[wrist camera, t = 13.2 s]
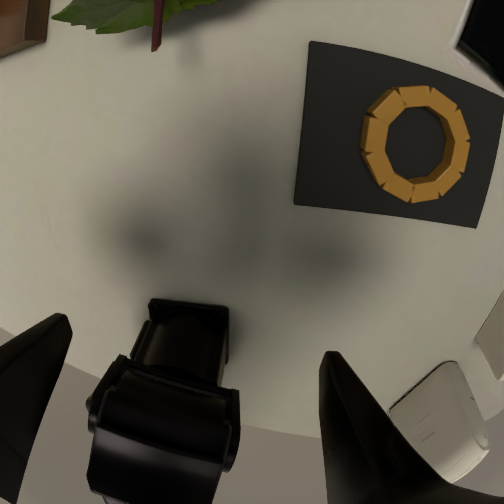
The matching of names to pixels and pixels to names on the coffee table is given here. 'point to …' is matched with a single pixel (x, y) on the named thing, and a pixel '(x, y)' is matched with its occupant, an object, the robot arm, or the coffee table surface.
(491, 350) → the white cube
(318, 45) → the mat
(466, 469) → the photo printer
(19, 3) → the peg stand
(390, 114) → the ring
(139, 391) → the robot arm
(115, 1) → the fruit
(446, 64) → the coffee table surface
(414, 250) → the coffee table surface
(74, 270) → the coffee table surface
